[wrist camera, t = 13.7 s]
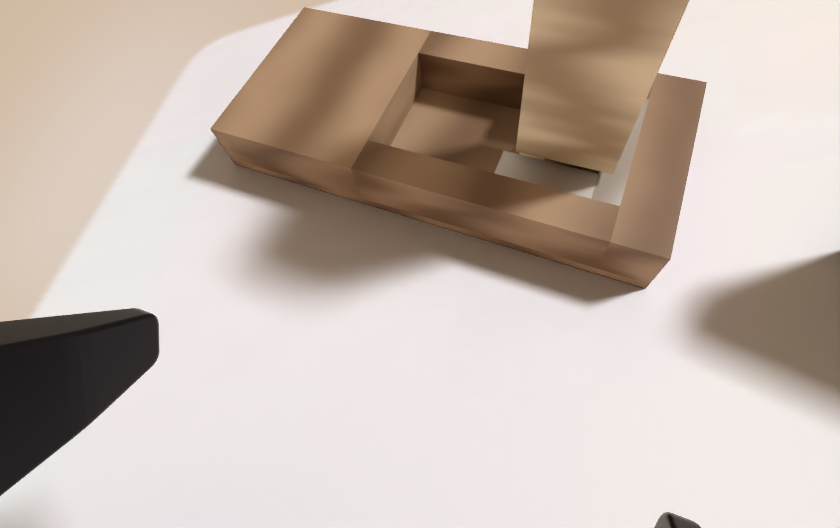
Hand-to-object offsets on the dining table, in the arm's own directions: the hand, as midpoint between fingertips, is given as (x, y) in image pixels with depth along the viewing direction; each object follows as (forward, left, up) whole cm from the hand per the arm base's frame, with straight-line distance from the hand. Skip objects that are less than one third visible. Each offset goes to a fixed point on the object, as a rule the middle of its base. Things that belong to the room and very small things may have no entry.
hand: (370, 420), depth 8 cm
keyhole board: (+4, +17, -13) cm, 22 cm away
